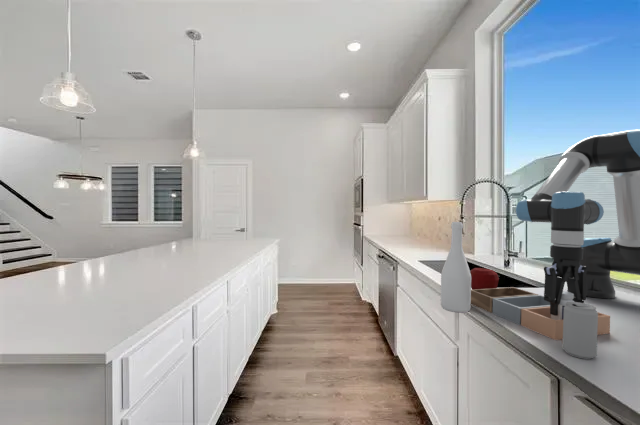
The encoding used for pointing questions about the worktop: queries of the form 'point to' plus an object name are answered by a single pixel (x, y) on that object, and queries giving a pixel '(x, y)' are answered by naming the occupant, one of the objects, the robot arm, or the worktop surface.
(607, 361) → the worktop surface
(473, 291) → the walnut bin
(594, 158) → the robot arm
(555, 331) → the terracotta bin
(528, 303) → the slate bin
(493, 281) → the apple
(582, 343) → the beverage can
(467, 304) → the wine bottle
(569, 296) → the pill bottle
